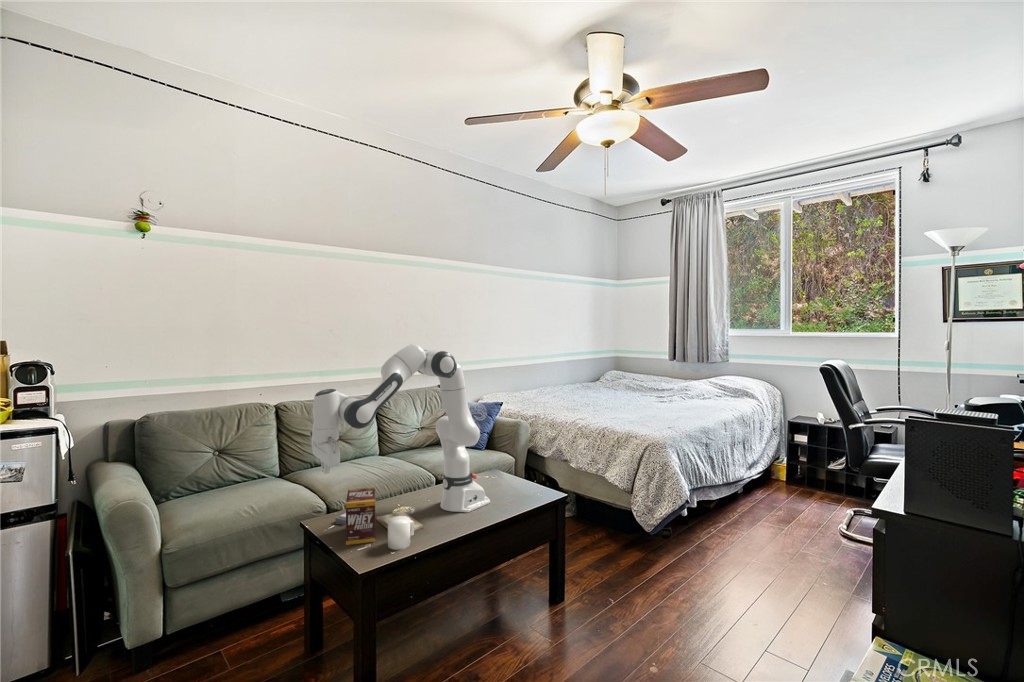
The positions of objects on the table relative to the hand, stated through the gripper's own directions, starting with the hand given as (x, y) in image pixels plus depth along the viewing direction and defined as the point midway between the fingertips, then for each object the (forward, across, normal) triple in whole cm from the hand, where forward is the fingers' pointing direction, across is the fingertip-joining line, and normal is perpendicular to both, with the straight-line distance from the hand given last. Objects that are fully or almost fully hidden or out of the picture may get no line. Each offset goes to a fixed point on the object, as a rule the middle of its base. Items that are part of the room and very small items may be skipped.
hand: (325, 472), depth 171 cm
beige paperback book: (+26, 0, -29) cm, 39 cm away
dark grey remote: (+27, +18, -17) cm, 36 cm away
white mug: (+26, -16, -21) cm, 37 cm away
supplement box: (+27, 0, -13) cm, 30 cm away
